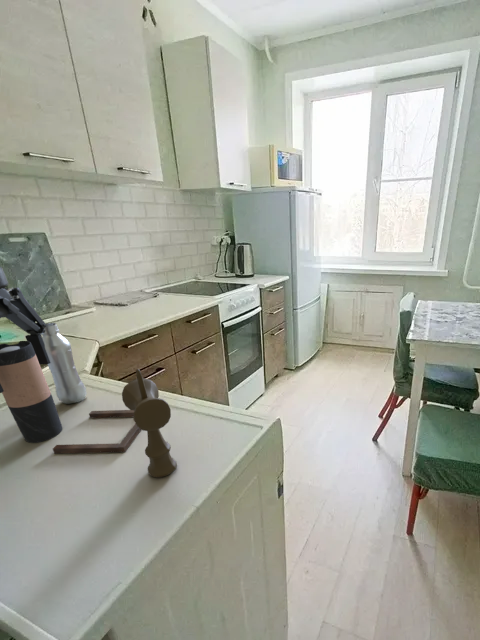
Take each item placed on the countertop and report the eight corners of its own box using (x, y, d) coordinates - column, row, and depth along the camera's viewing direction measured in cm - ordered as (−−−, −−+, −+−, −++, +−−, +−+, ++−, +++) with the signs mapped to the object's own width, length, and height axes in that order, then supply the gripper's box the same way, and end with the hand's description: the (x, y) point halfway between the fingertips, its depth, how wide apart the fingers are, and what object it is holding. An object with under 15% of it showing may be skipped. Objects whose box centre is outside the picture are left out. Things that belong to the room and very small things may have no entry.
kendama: (171, 451, 69) (149, 355, 60) (188, 478, 61) (165, 373, 53) (140, 462, 66) (111, 364, 57) (153, 492, 59) (122, 384, 50)
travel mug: (40, 446, 72) (1, 355, 64) (14, 440, 75) (-27, 352, 66) (72, 426, 79) (40, 341, 70) (47, 421, 81) (14, 339, 73)
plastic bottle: (74, 408, 87) (45, 329, 78) (53, 405, 89) (23, 328, 80) (94, 396, 92) (70, 321, 83) (75, 393, 94) (49, 320, 85)
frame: (54, 453, 70) (52, 448, 69) (93, 415, 83) (91, 410, 83) (125, 452, 69) (123, 447, 69) (153, 413, 83) (151, 409, 82)
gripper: (-73, 277, 50) (-10, 407, 59) (42, 257, 73) (75, 353, 82) (-123, 280, 51) (-52, 408, 60) (7, 259, 73) (43, 355, 82)
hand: (21, 377), depth 71 cm, fingers open, 13 cm apart
